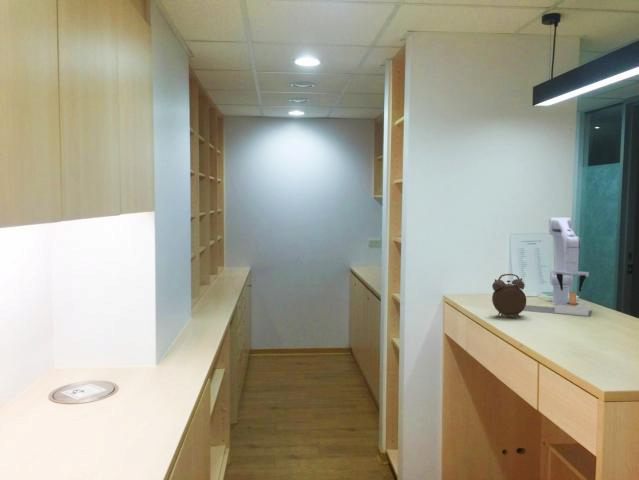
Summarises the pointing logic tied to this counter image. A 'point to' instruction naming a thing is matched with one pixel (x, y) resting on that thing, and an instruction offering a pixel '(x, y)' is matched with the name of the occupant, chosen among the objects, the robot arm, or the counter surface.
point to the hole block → (572, 308)
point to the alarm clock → (509, 296)
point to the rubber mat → (546, 310)
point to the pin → (572, 298)
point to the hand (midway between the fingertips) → (570, 290)
